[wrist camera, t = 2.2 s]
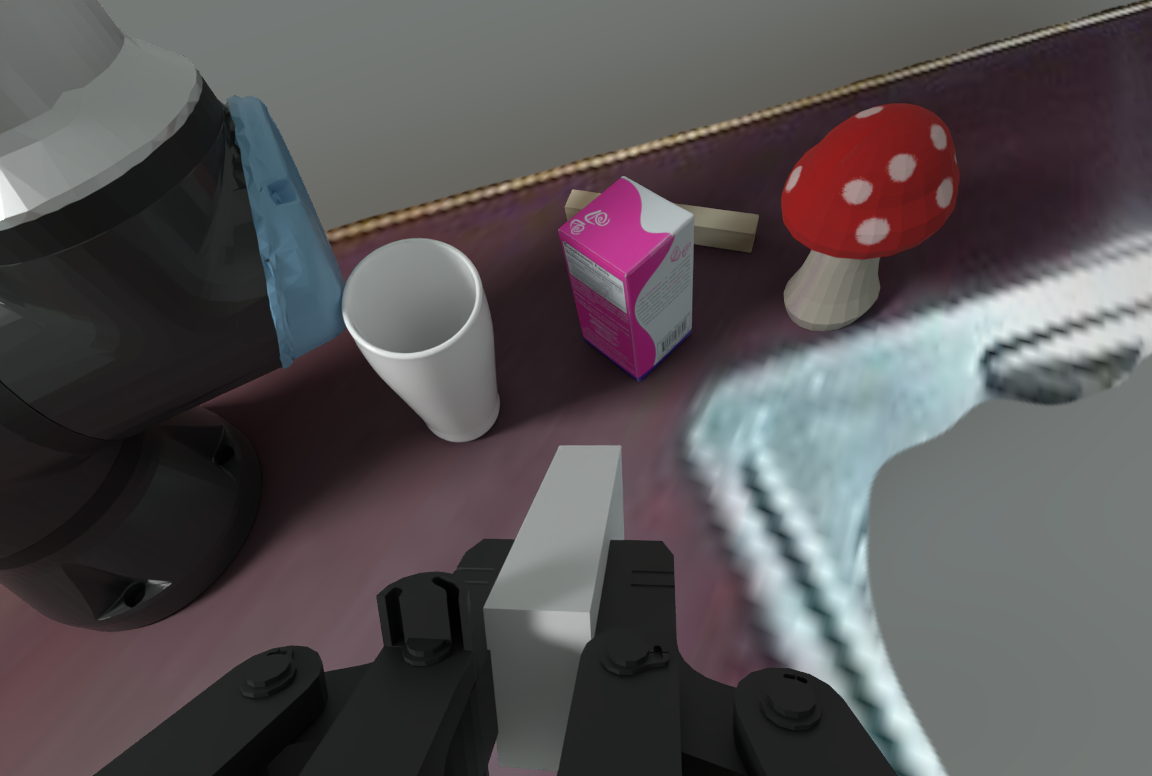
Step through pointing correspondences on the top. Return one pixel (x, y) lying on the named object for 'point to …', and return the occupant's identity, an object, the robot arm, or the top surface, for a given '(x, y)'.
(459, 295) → the drinking glass
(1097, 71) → the top surface
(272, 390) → the top surface
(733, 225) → the bar
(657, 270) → the supplement box
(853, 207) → the decorative mushroom
